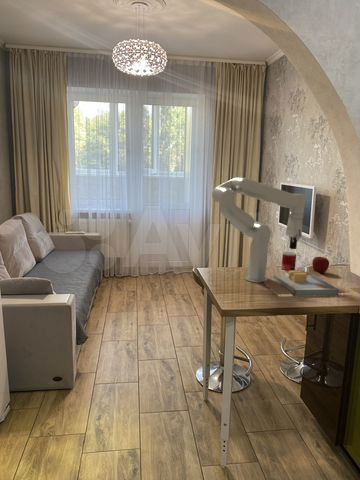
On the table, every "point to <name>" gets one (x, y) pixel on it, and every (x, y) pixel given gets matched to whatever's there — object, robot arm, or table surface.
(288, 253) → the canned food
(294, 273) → the block
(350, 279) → the table surface
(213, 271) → the table surface
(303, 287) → the grey tray
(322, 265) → the apple
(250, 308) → the table surface
